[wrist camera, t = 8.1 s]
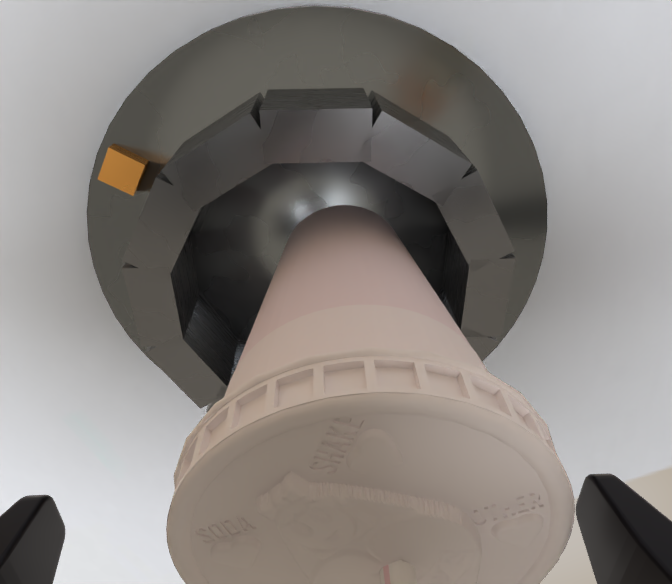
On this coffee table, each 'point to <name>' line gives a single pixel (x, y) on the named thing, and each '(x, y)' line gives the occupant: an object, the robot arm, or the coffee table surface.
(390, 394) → the smoothie
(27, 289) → the coffee table surface
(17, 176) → the coffee table surface
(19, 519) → the robot arm
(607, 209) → the coffee table surface
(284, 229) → the mount
